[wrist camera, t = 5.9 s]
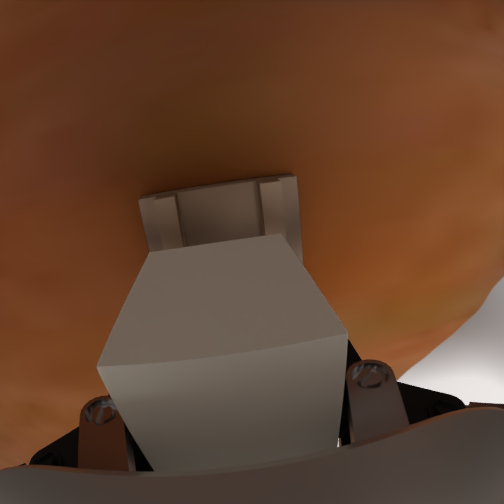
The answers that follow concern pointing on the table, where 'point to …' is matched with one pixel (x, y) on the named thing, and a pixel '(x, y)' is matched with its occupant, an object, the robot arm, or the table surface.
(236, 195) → the channel board
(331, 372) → the cream block
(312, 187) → the table surface
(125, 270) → the table surface
